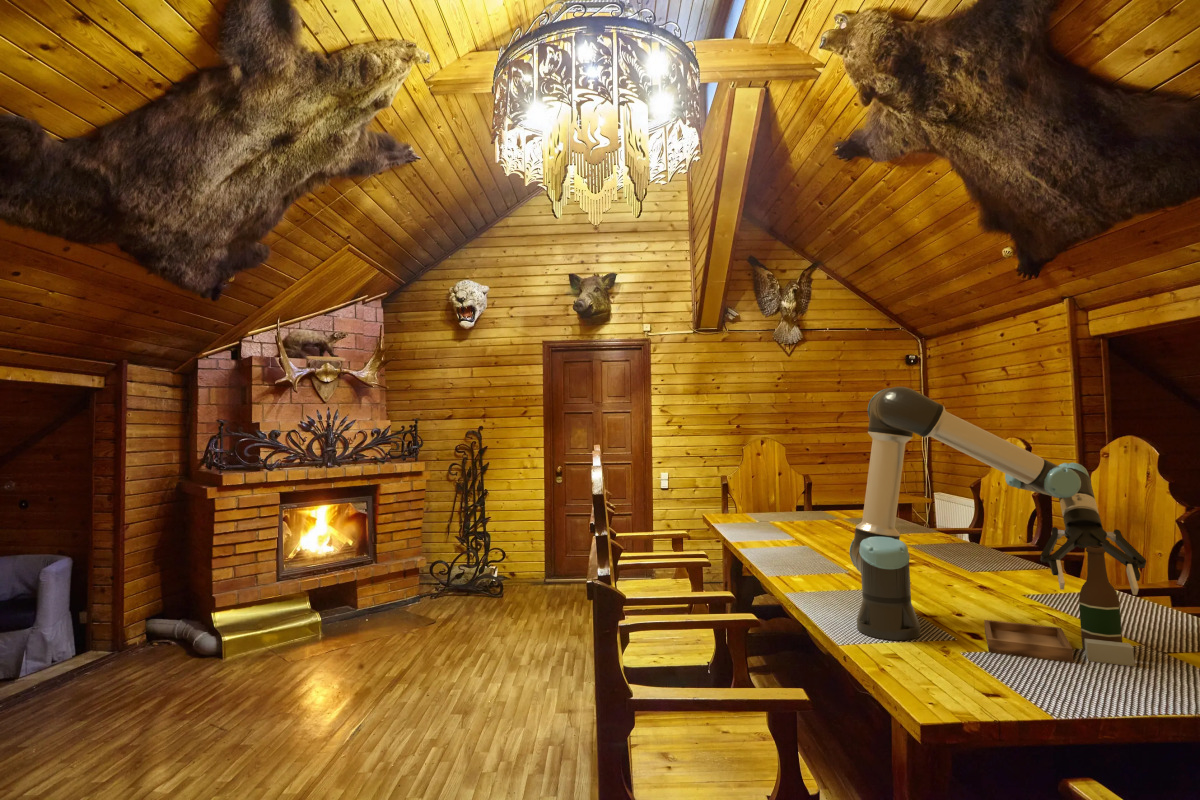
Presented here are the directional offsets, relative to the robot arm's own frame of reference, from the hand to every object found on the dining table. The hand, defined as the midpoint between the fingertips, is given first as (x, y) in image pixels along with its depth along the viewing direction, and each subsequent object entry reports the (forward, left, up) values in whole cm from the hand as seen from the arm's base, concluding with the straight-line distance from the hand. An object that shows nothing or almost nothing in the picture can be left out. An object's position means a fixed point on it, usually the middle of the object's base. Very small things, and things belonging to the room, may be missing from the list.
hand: (1098, 589), depth 145 cm
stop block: (0, -8, -14) cm, 16 cm away
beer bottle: (0, -1, -14) cm, 14 cm away
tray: (-15, -4, -14) cm, 21 cm away
